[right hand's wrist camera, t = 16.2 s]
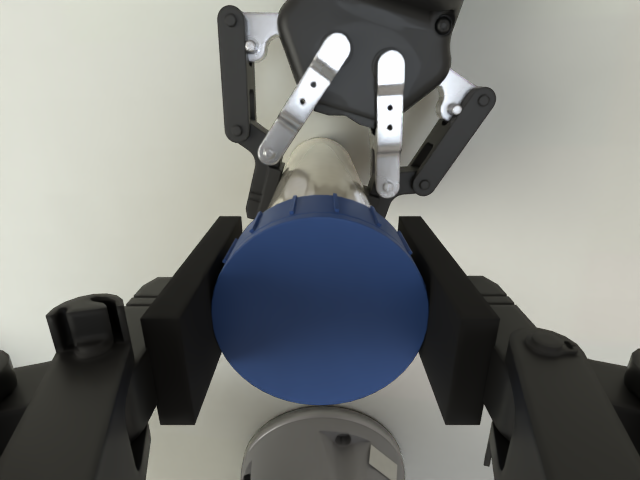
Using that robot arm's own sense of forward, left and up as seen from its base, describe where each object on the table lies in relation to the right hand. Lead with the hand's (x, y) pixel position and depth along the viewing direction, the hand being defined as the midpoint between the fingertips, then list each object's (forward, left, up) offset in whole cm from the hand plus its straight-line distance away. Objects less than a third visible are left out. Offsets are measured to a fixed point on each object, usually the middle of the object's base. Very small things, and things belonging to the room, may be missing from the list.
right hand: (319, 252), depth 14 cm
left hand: (-2, -2, -8) cm, 9 cm away
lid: (0, 0, +4) cm, 4 cm away
